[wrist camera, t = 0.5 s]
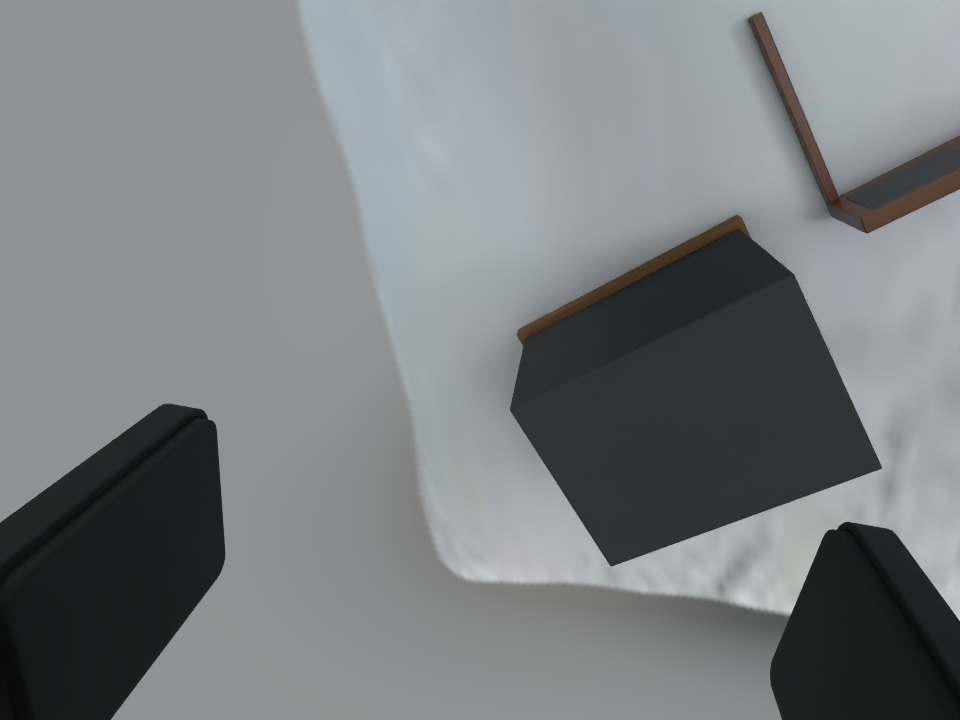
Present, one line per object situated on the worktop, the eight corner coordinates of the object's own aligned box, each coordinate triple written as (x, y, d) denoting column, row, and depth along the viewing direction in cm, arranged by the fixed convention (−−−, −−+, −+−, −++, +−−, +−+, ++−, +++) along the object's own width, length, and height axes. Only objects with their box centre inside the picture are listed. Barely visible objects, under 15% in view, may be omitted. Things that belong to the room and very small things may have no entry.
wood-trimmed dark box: (517, 330, 45) (498, 405, 34) (737, 214, 40) (798, 260, 29) (607, 475, 49) (615, 586, 38) (819, 387, 43) (900, 486, 32)
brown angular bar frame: (1089, 90, 34) (1170, 89, 30) (831, 218, 39) (866, 235, 34) (1021, -152, 31) (1101, -196, 26) (747, 19, 35) (774, 8, 31)
